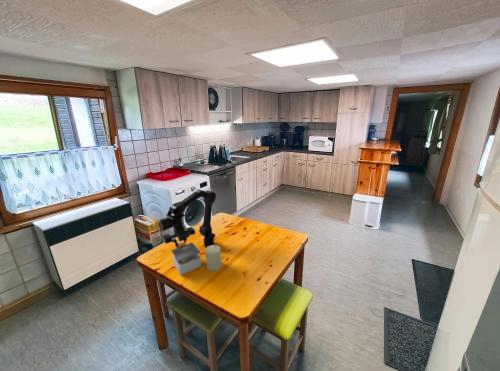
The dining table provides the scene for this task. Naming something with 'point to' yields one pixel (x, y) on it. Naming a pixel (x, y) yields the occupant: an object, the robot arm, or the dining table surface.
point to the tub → (187, 264)
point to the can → (213, 257)
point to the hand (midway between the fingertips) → (181, 246)
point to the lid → (184, 250)
